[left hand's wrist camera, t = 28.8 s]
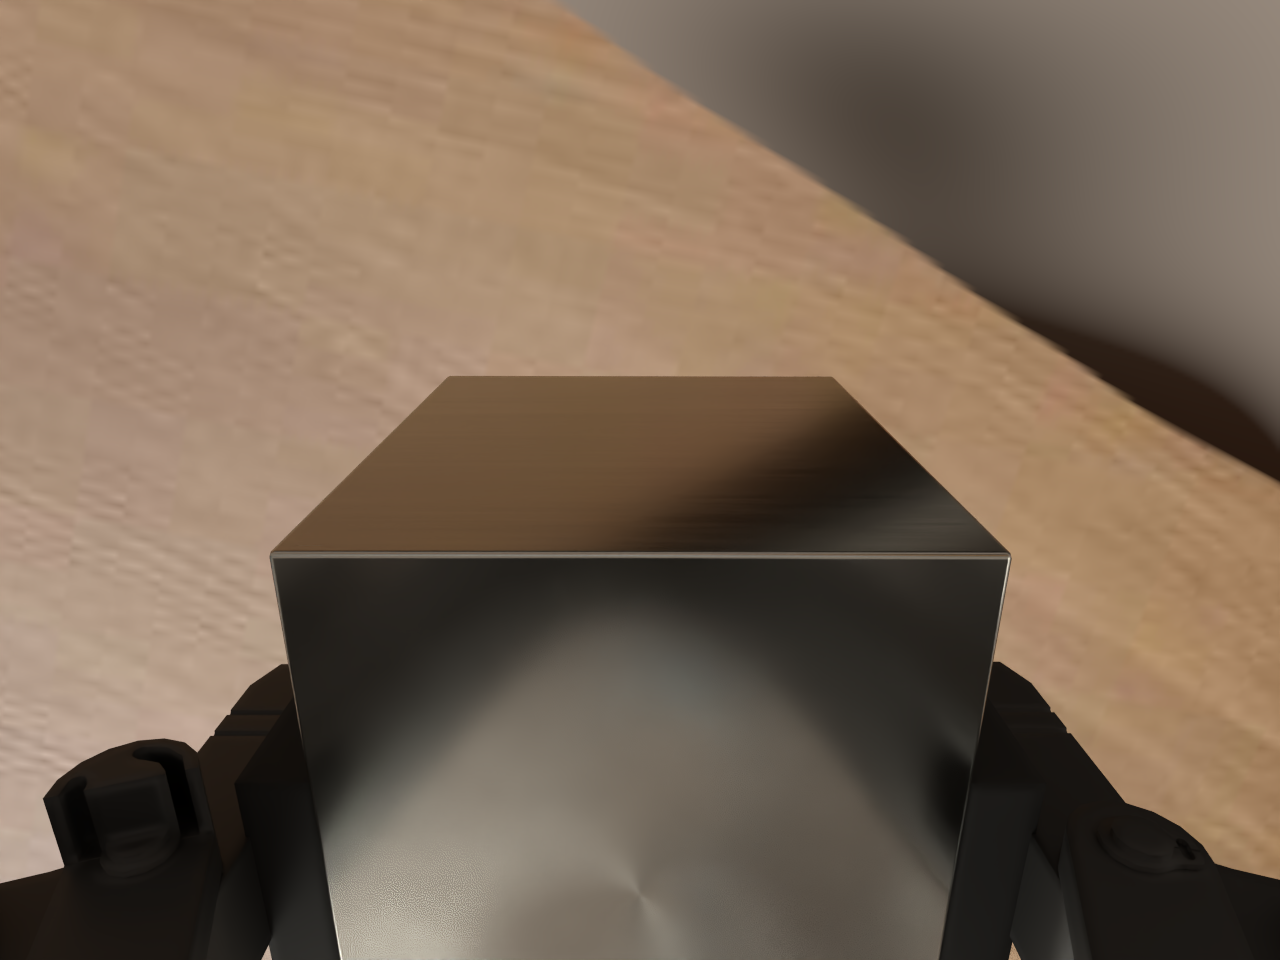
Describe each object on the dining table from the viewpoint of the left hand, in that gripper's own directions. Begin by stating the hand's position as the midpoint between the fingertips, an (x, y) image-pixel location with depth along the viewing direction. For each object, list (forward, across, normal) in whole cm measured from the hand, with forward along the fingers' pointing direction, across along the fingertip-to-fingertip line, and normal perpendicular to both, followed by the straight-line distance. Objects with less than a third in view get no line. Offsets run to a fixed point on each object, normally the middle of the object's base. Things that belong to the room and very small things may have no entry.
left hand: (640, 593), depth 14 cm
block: (0, 0, 0) cm, 0 cm away
